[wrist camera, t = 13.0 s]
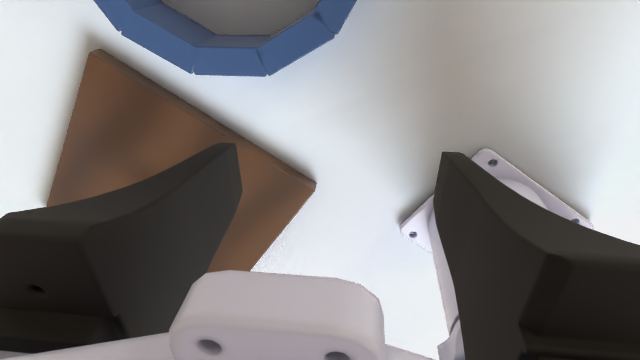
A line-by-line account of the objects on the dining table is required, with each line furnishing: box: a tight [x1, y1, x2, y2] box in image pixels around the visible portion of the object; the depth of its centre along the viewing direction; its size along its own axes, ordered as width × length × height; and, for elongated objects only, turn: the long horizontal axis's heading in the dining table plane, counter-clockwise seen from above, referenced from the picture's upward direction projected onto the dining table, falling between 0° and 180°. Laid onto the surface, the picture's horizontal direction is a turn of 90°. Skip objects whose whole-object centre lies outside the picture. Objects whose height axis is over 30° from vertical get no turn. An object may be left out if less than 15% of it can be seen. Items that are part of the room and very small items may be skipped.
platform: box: [47, 49, 317, 273], centre depth 25 cm, size 15×15×4 cm
